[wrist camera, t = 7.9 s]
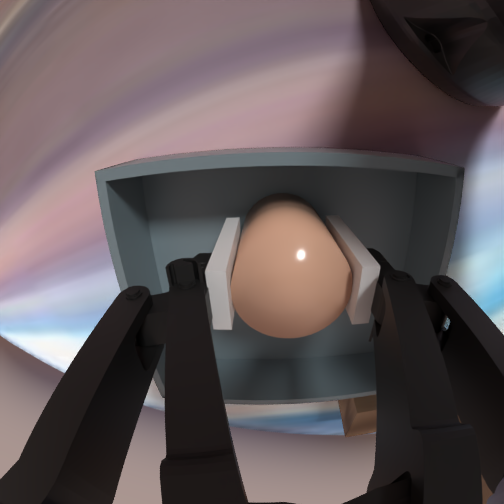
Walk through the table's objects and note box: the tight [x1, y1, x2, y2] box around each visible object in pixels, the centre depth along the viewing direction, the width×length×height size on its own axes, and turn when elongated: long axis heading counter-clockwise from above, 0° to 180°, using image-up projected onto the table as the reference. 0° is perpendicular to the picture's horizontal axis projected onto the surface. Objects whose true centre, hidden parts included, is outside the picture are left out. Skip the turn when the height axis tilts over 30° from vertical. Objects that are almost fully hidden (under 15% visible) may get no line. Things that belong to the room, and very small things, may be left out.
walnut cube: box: [338, 394, 377, 437], centre depth 22 cm, size 5×5×5 cm
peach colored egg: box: [230, 193, 353, 338], centre depth 14 cm, size 5×5×7 cm
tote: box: [95, 147, 464, 404], centre depth 17 cm, size 17×19×5 cm
